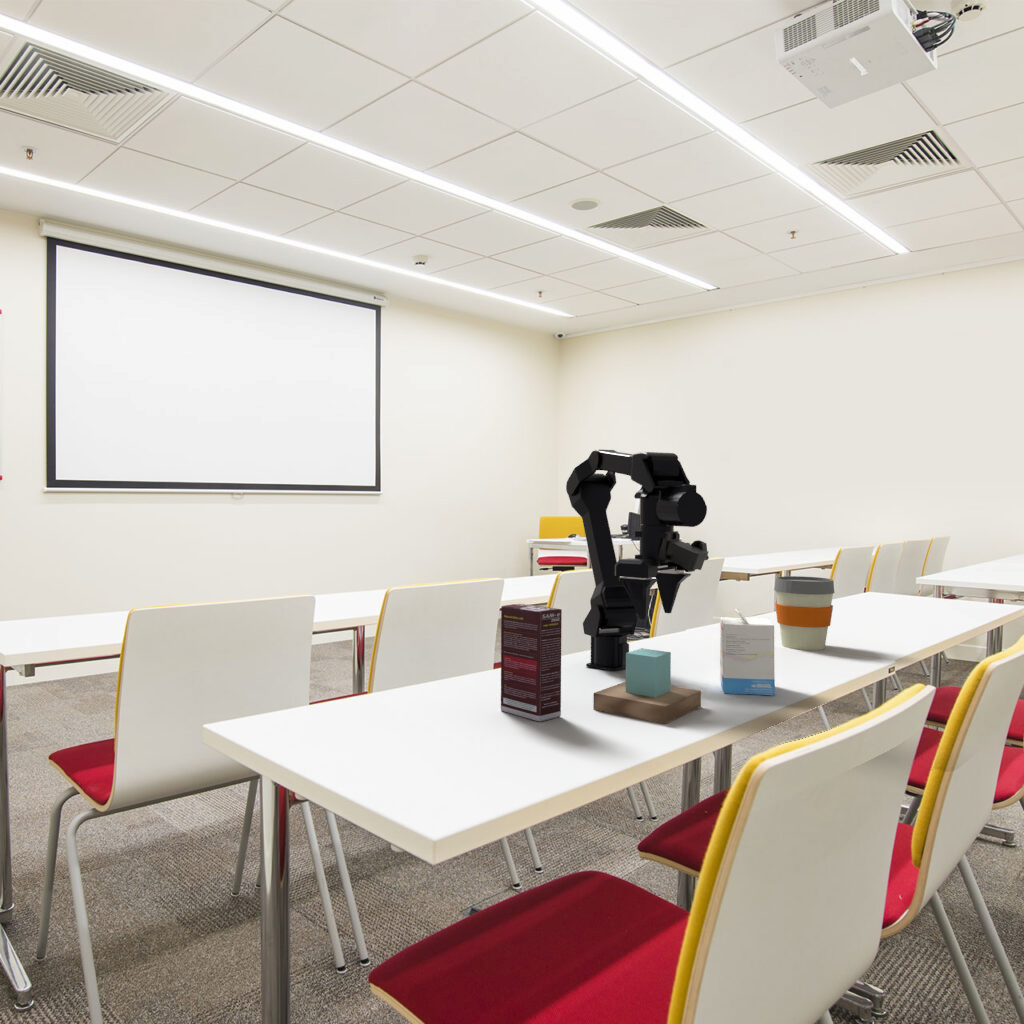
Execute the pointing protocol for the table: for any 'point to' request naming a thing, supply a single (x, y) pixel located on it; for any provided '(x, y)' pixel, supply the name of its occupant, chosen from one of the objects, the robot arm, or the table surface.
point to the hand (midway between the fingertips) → (655, 615)
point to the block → (648, 672)
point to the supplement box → (531, 661)
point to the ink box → (747, 655)
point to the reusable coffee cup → (804, 611)
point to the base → (648, 703)
